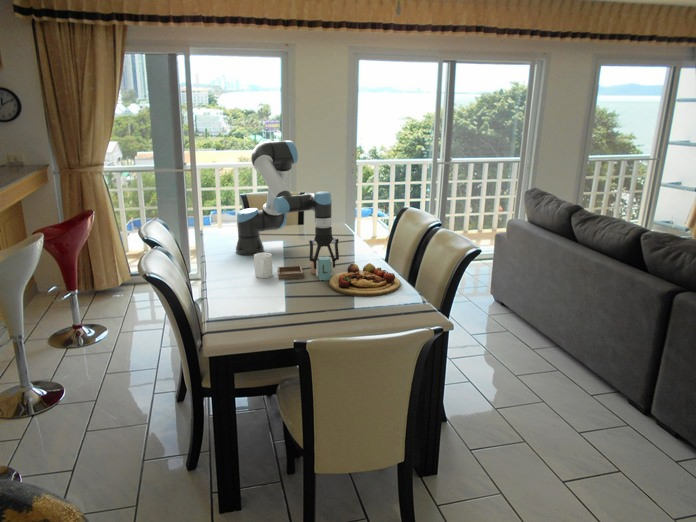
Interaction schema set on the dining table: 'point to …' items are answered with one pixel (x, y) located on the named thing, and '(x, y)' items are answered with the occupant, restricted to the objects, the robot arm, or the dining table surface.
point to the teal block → (324, 268)
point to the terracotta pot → (313, 267)
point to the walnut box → (290, 272)
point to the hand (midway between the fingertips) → (324, 274)
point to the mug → (263, 265)
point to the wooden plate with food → (365, 281)
